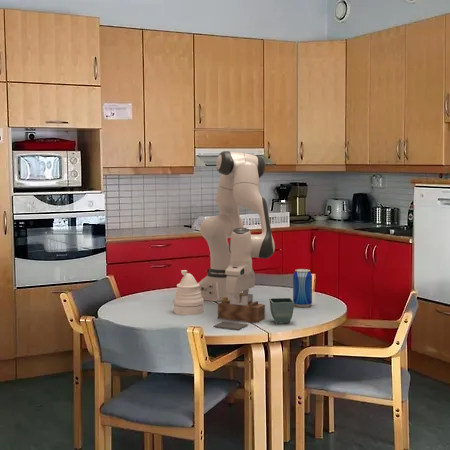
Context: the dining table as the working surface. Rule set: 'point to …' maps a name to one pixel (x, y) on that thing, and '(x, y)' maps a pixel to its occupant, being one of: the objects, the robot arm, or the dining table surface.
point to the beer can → (302, 288)
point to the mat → (230, 325)
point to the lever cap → (242, 299)
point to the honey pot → (188, 296)
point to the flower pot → (281, 309)
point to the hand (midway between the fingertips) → (241, 301)
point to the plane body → (241, 311)
